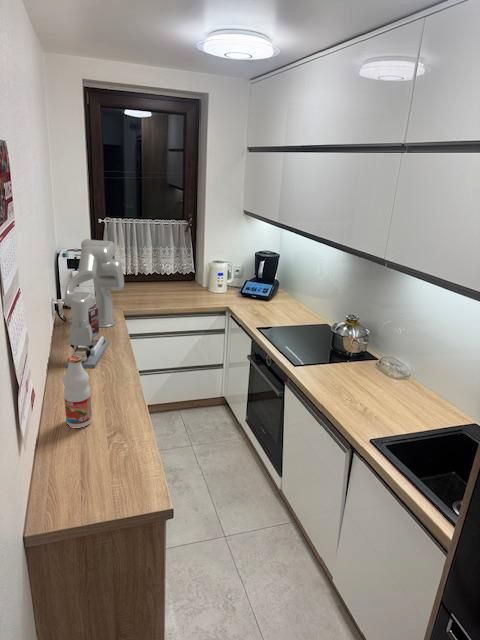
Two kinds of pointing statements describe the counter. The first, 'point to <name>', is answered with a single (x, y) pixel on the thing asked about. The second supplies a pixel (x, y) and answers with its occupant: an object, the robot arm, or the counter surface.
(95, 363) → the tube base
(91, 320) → the supplement box
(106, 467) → the counter surface
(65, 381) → the fruit juice
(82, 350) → the maple block
